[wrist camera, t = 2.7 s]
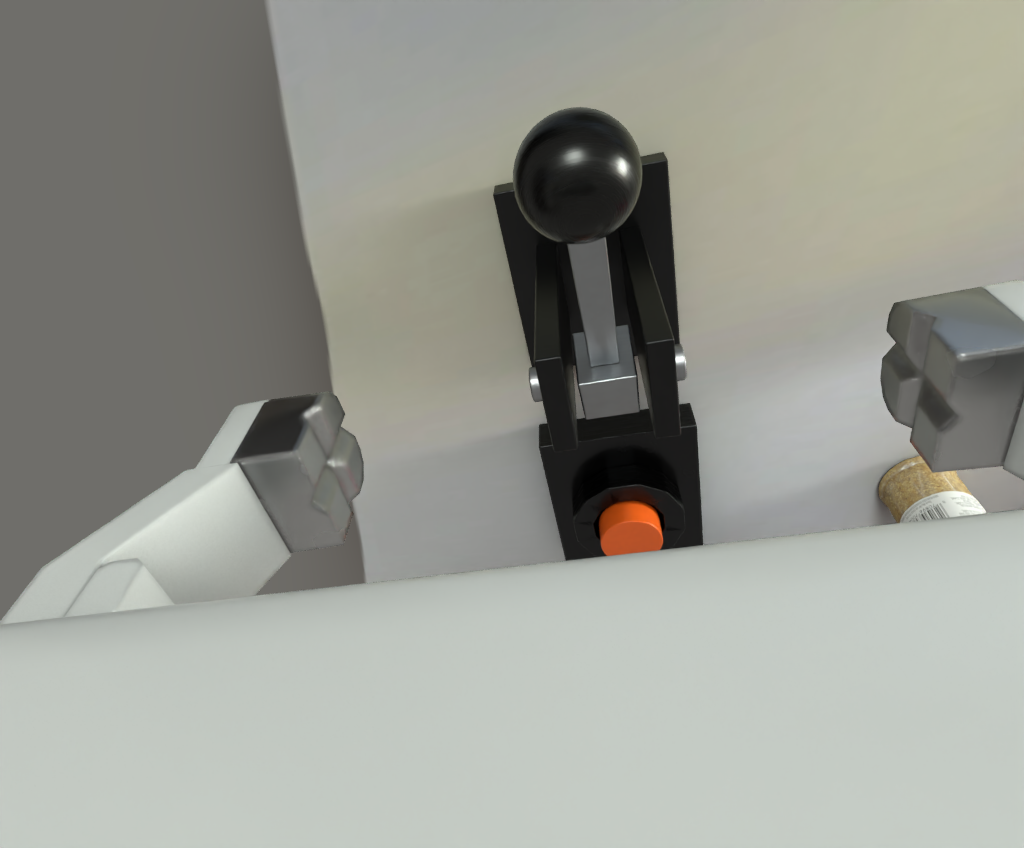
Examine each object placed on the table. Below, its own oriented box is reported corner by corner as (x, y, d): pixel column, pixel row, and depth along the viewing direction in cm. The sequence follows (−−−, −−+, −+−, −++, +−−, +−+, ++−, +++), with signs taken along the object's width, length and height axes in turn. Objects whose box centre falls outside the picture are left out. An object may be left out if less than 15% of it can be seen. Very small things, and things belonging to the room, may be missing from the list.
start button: (594, 503, 40) (596, 525, 38) (656, 496, 39) (660, 517, 38) (602, 544, 42) (604, 566, 40) (661, 538, 41) (665, 560, 40)
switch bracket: (494, 185, 32) (474, 298, 23) (663, 151, 31) (716, 256, 21) (533, 360, 38) (530, 507, 29) (676, 337, 37) (722, 484, 27)
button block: (538, 424, 41) (538, 467, 37) (690, 402, 39) (703, 445, 36) (567, 546, 47) (569, 592, 44) (697, 531, 46) (709, 577, 43)
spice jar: (895, 515, 44) (1008, 707, 34) (863, 477, 42) (971, 668, 32) (966, 481, 42) (1110, 673, 31) (935, 439, 40) (1077, 629, 30)
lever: (497, 93, 17) (503, 187, 16) (629, 64, 17) (650, 158, 15) (564, 363, 29) (572, 433, 27) (644, 350, 28) (657, 421, 27)
